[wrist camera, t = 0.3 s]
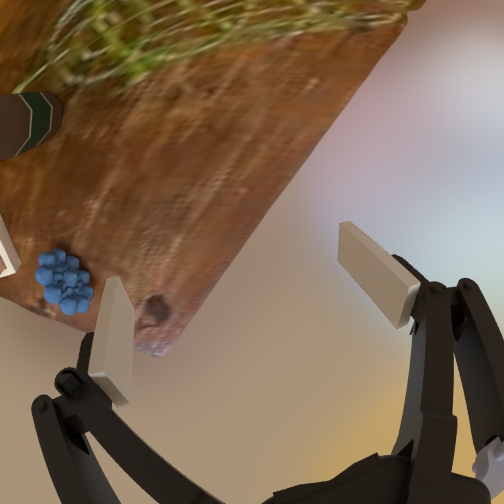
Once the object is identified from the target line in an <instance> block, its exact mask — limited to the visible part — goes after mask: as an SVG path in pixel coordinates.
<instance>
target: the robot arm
mask: <svg viewBox="0 0 504 504" xmlns="http://www.w3.org/2000/svg"><path fill="white" fill-rule="evenodd" d="M338 262H339V263H340V264H341V265H342V266H343V268H344V269H345V270H346V271H347V272H348V273H349V274H350V275H351V276H352V278H353V279H354V280H355V281H356V282H357V283H358V284H359V286H360V287H361V288H362V289H363V290H364V291H365V292H366V294H367V295H368V296H369V297H370V298H371V299H372V300H373V302H374V303H375V304H376V305H377V306H378V308H379V309H380V310H381V311H382V312H383V313H384V315H385V316H386V317H387V318H388V319H389V321H390V322H391V323H392V324H393V325H394V327H395V328H396V329H398V328H401V327H403V326H405V325H407V324H408V322H409V319H410V316H412V317H413V319H414V320H415V321H414V324H413V326H412V329H411V332H410V335H412V332H413V336H412V348H411V359H410V369H409V377H408V384H407V391H406V397H405V404H404V409H403V415H402V420H401V426H400V430H399V434H398V438H397V441H396V443H395V445H394V447H393V450H392V453H391V455H384V456H379V455H378V454H377V453H375V454H373V455H371V456H369V457H367V458H365V459H362V460H360V461H358V462H356V463H354V464H352V465H351V466H350V467H348V468H347V469H346V470H344V471H343V472H341V473H340V474H339V475H337V476H336V477H335V478H333V479H331V480H329V481H324V482H317V483H309V484H300V485H297V486H294V487H290V488H287V489H284V490H281V491H277V492H273V495H274V496H273V497H271V498H269V499H267V500H266V501H264V502H263V503H262V504H491V500H492V499H493V498H494V497H496V496H497V495H498V494H499V493H500V492H502V491H503V490H504V340H503V337H502V334H501V332H500V330H499V327H498V325H497V323H496V321H495V319H494V316H493V315H492V312H491V310H490V308H489V306H488V304H487V302H486V300H485V298H484V296H483V294H482V292H481V290H480V288H479V287H478V285H477V284H476V283H475V282H474V281H473V280H471V279H469V278H462V279H460V280H459V281H458V284H457V287H450V288H449V287H448V288H447V287H446V286H445V285H443V284H442V283H439V282H429V281H428V280H427V279H426V278H425V277H424V276H423V275H422V274H420V273H419V272H418V271H417V270H416V269H415V268H413V266H411V265H410V264H409V263H408V262H407V261H406V260H405V259H403V258H402V257H400V256H397V255H395V254H393V255H390V254H389V253H388V252H387V251H385V250H384V249H383V248H382V247H381V246H380V245H378V244H377V243H376V242H375V241H374V240H373V239H371V238H370V237H369V236H368V235H366V234H365V233H364V232H363V231H362V230H360V229H359V228H358V227H357V226H355V225H354V224H353V223H352V222H350V221H347V222H343V223H340V224H339V246H338ZM134 323H135V310H134V308H133V306H132V304H131V302H130V299H129V297H128V295H127V293H126V291H125V288H124V286H123V284H122V282H121V279H120V277H119V276H115V277H111V278H107V280H106V284H105V288H104V292H103V296H102V300H101V304H100V309H99V313H98V318H97V323H96V328H95V332H91V333H86V335H85V337H84V338H83V340H82V342H81V347H80V352H79V358H78V362H77V367H76V369H75V368H71V367H68V368H65V369H63V370H61V371H60V372H59V373H58V374H57V376H56V378H55V383H54V385H55V388H56V389H57V390H58V392H59V393H60V394H61V396H59V397H57V398H54V399H51V398H50V397H49V396H48V395H40V396H38V397H37V398H35V400H34V401H33V403H32V407H31V410H32V416H33V420H34V424H35V428H36V432H37V436H38V440H39V443H40V446H41V450H42V453H43V456H44V459H45V462H46V465H47V468H48V471H49V474H50V476H51V479H52V481H53V484H54V487H55V489H56V491H57V494H58V496H59V498H60V501H61V503H62V504H121V503H120V501H119V499H118V498H117V496H116V494H115V493H114V491H113V489H112V487H111V486H110V484H109V482H108V480H107V478H106V477H105V475H104V473H103V471H102V469H101V467H100V465H99V463H98V461H97V459H96V457H95V455H94V453H93V451H92V449H91V446H90V444H89V442H88V440H87V437H86V435H85V433H86V432H88V431H90V432H91V434H92V435H93V436H94V437H95V439H96V440H97V441H98V442H99V443H100V445H101V446H102V447H103V448H104V449H105V450H106V451H107V453H108V454H109V455H110V456H111V457H112V458H113V459H114V460H115V462H116V463H117V464H118V465H119V466H120V467H121V468H122V469H123V470H124V471H125V472H126V473H127V474H128V475H129V476H130V477H131V478H132V479H133V480H134V481H135V482H136V483H137V484H138V485H139V486H140V487H141V488H142V489H143V490H145V491H146V492H147V493H148V494H149V495H150V496H151V497H152V498H153V499H154V500H156V501H157V502H158V503H159V504H225V503H224V502H222V501H221V500H219V499H217V498H216V497H214V496H213V495H211V494H210V493H208V492H207V491H206V490H204V489H203V488H201V487H200V486H198V485H197V484H196V483H194V482H193V481H191V480H190V479H189V478H188V477H186V476H185V475H183V474H182V473H181V472H180V471H179V470H177V469H176V468H175V467H173V466H172V465H171V464H170V463H168V462H167V461H166V460H165V459H164V458H163V457H161V456H160V455H159V454H158V453H157V452H156V451H154V450H153V449H152V448H151V447H150V446H149V445H148V444H147V443H146V442H144V441H143V440H142V439H141V438H140V437H139V436H138V435H137V434H136V433H135V432H134V431H133V430H132V429H131V428H130V427H129V426H128V425H127V424H126V423H125V422H124V421H123V420H122V419H121V418H120V417H119V416H118V415H117V414H116V413H115V412H114V411H113V410H112V402H113V403H114V404H115V405H116V406H117V407H127V406H132V361H133V360H132V359H133V338H134ZM453 351H454V353H453ZM453 355H455V358H456V362H457V366H458V370H459V373H460V377H461V382H462V386H463V390H464V395H465V400H466V405H467V410H468V415H469V421H470V427H471V434H472V439H473V444H474V447H475V451H476V454H477V457H476V459H475V462H474V463H473V466H472V470H473V472H474V473H476V476H475V478H471V477H467V476H463V475H459V474H456V473H453V472H451V470H452V464H453V458H454V451H455V444H456V435H457V417H456V416H454V415H453V414H452V409H453V386H454V356H453Z"/></svg>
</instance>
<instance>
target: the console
mask: <svg viewBox="0 0 504 504" xmlns="http://www.w3.org/2000/svg"><path fill="white" fill-rule="evenodd" d="M0 255H1V257H2V259H3V261H4V263H5V265H6V267H5V269H4V270H3V272H2V273H1V275H0V277H3V276H7V275H10V274H13V273H16V272H17V270H18V269H19V267H20V266H21V264H22V262H21V260H20V258H19V256H18V254H17V252H16V249H15V247H14V245H13V243H12V240H11V238H10V235H9V233H8V231H7V228H6V226H5V223H4V221H3V218H2V215H1V213H0Z"/></svg>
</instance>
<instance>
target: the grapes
mask: <svg viewBox="0 0 504 504" xmlns="http://www.w3.org/2000/svg"><path fill="white" fill-rule="evenodd" d="M38 262H39V265H40V267H39V268H38V269H37V271H36V273H35V277H36V280H37V282H38V283H39V284H40V285H42V286H46V288H45V290H44V298H45V299H46V301H47V302H48V303H50V304H58V303H59V307H60V310H61V311H62V312H63V313H64V314H66V315H72V314H74V313H75V312H76V311H77V312H79V313H85V312H87V311H88V309H89V301H91V300H92V298H93V296H94V291H93V288H92V287H90V286H88V285H87V284H88V283H89V281H90V275H89V273H88V272H87V271H85V270H78V269H79V265H80V264H79V259H78V258H76V257H74V256H68V257H66V253H65V251H63V250H61V249H57V248H56V249H53V250H52V252H51V253H49V252H44V253H41V255H40V256H39V260H38Z"/></svg>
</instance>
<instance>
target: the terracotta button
mask: <svg viewBox="0 0 504 504" xmlns="http://www.w3.org/2000/svg"><path fill="white" fill-rule="evenodd" d="M5 267H6V265H5V263H4V261H3V259H2V257H1V255H0V275H1V273H2V272H3V270H4V269H5Z"/></svg>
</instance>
